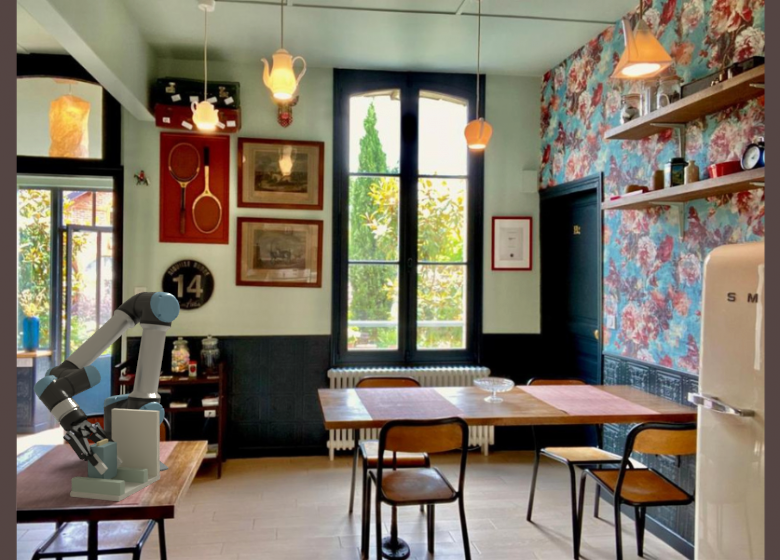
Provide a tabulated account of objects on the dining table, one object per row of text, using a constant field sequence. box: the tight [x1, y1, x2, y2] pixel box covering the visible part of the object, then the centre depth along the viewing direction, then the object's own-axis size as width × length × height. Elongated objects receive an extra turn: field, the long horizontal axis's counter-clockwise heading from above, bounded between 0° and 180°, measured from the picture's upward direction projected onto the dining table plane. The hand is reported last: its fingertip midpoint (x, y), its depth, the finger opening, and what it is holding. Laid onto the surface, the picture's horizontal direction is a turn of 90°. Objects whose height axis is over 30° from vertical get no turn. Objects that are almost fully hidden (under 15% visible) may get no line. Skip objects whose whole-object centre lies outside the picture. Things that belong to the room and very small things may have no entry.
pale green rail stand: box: [69, 409, 161, 502], centre depth 182 cm, size 20×18×24 cm
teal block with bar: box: [87, 439, 117, 479], centre depth 180 cm, size 6×6×12 cm
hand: (112, 468), depth 179 cm, fingers closed on teal block with bar, 6 cm apart
